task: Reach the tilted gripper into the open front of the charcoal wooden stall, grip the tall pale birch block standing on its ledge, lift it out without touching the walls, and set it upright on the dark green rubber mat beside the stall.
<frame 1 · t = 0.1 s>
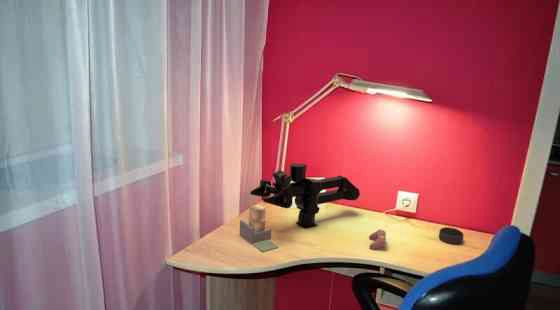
hand: (256, 196, 148), 17 cm above the table, tool horizontal, fingers open, 9 cm apart
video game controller: (376, 245, 152), on the table
stall: (256, 236, 153), on the table
mat: (265, 246, 146), on the table
birch block: (256, 231, 153), point 2 cm above the table, touching stall
smart speaker: (450, 240, 159), on the table
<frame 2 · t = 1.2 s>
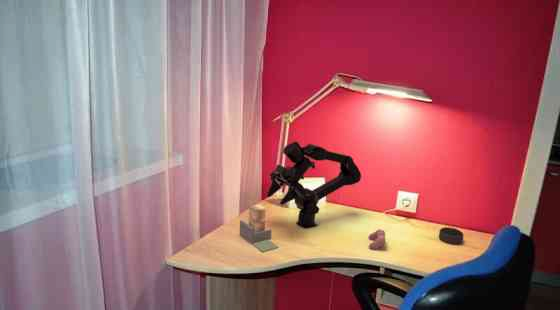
hand: (274, 200, 154), 14 cm above the table, tool tilted 45°, fingers open, 9 cm apart
nothing on the table moved.
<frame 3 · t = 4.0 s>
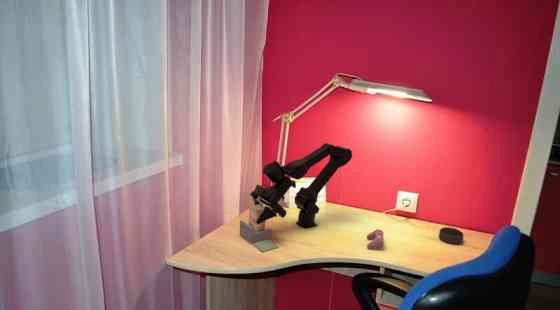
hand: (253, 221, 151), 7 cm above the table, tool tilted 45°, fingers closed on birch block, 4 cm apart
birch block: (256, 231, 153), point 2 cm above the table, touching gripper, stall
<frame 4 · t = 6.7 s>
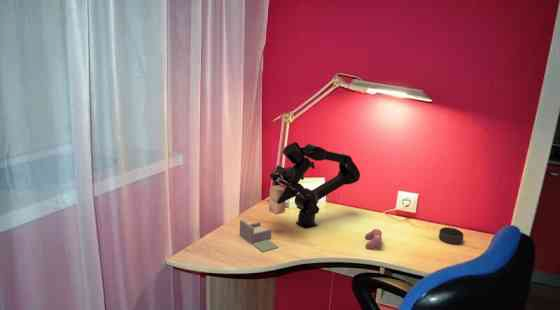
hand: (274, 201, 154), 13 cm above the table, tool tilted 45°, fingers closed on birch block, 4 cm apart
birch block: (276, 211, 156), point 9 cm above the table, touching gripper
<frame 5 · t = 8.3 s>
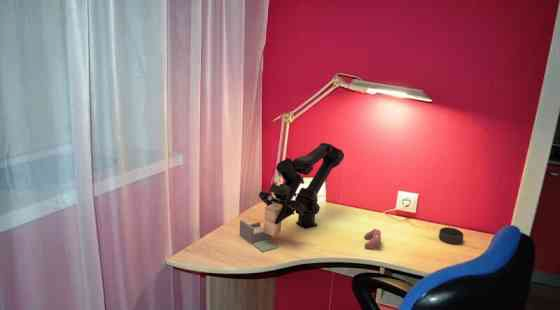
hand: (270, 222, 145), 9 cm above the table, tool tilted 45°, fingers closed on birch block, 4 cm apart
birch block: (272, 232, 148), point 4 cm above the table, touching gripper
when the fingers open (6 cm above the table, at t = 9.5 s): birch block drops 1 cm, resting on mat.
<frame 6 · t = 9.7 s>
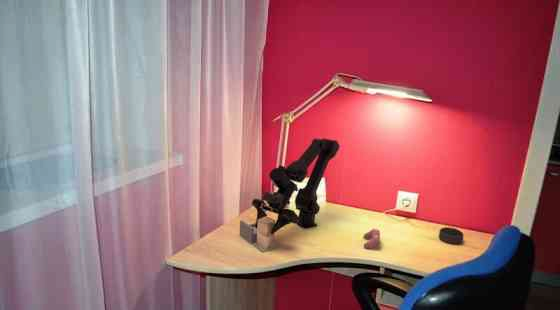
hand: (263, 230, 143), 7 cm above the table, tool tilted 45°, fingers open, 7 cm apart
birch block: (265, 245, 145), resting on mat
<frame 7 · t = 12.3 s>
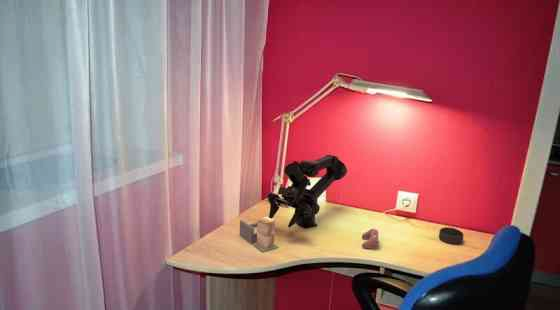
hand: (278, 223, 150), 7 cm above the table, tool tilted 45°, fingers open, 9 cm apart
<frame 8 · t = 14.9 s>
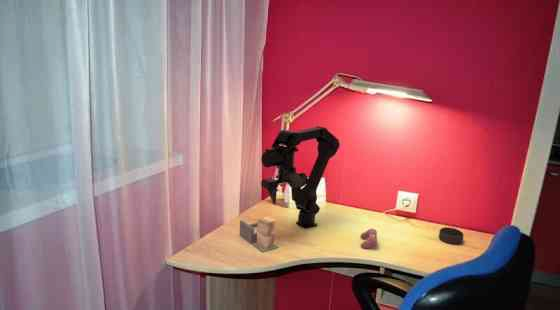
hand: (283, 202, 154), 13 cm above the table, tool pointing down, fingers open, 9 cm apart
at the end: birch block 0.0 cm off-centre on the mat, point 0.4 cm above the mat's base; birch block tilted 0°; the gripper is holding nothing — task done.
